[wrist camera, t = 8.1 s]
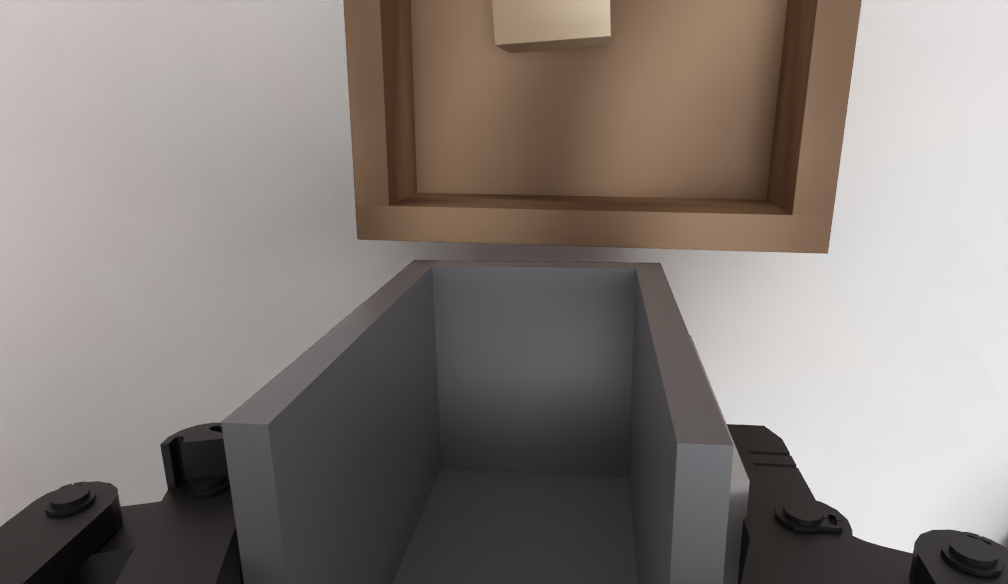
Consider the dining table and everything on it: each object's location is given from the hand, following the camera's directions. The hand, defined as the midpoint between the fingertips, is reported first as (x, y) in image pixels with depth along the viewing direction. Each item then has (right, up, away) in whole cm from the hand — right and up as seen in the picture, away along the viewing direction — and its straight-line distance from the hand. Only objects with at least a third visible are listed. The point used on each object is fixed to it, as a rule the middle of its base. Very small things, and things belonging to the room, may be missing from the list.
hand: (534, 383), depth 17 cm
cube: (+1, +9, +2) cm, 9 cm away
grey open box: (0, 0, 0) cm, 0 cm away
